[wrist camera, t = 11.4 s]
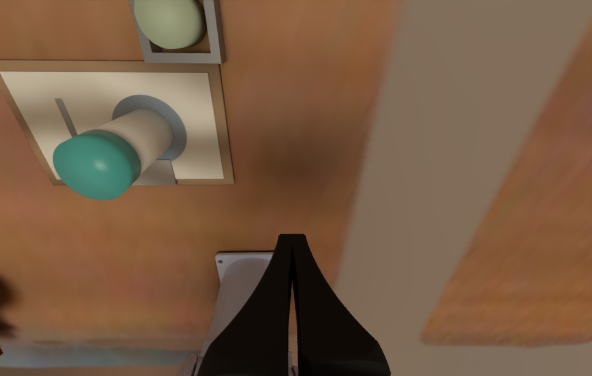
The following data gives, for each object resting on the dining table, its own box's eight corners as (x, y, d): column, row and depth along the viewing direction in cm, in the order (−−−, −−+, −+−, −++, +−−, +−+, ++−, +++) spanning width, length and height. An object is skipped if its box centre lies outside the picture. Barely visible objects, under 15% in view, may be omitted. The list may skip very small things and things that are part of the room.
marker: (178, 154, 21) (135, 201, 15) (131, 153, 21) (69, 199, 15) (169, 108, 19) (115, 140, 13) (117, 105, 19) (40, 137, 13)
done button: (209, 47, 18) (198, 49, 15) (162, 46, 17) (143, 48, 15) (201, -12, 16) (187, -19, 14) (148, -13, 16) (125, -20, 14)
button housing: (226, 61, 18) (221, 63, 17) (155, 61, 18) (145, 63, 17) (215, -29, 16) (209, -35, 15) (132, -30, 16) (119, -36, 14)
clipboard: (234, 182, 24) (233, 186, 23) (55, 183, 23) (49, 187, 22) (219, 61, 18) (216, 62, 18) (-12, 59, 18) (-22, 60, 17)
